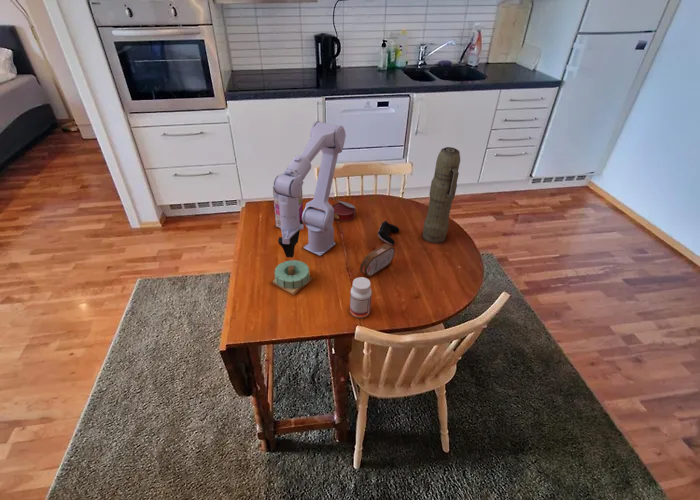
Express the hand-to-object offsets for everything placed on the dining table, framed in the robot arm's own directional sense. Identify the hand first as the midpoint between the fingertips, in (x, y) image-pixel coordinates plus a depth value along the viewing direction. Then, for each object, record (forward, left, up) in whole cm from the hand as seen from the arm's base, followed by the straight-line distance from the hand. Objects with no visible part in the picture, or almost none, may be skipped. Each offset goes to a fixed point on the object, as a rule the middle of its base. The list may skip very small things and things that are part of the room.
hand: (292, 249), depth 126 cm
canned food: (-40, -8, -10) cm, 42 cm away
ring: (+3, +2, -9) cm, 9 cm away
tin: (-18, +22, -10) cm, 30 cm away
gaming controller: (-37, +15, -10) cm, 41 cm away
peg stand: (+4, +3, -10) cm, 11 cm away
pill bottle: (+2, +28, -10) cm, 29 cm away
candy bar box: (-22, -21, -10) cm, 32 cm away
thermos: (-48, +29, -10) cm, 57 cm away
